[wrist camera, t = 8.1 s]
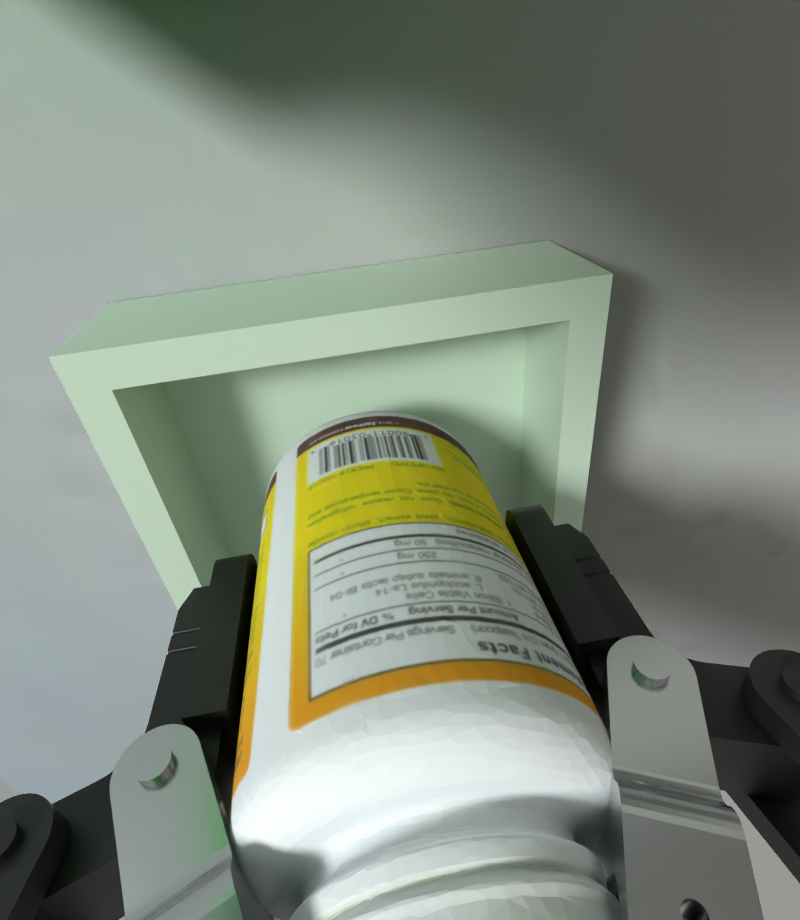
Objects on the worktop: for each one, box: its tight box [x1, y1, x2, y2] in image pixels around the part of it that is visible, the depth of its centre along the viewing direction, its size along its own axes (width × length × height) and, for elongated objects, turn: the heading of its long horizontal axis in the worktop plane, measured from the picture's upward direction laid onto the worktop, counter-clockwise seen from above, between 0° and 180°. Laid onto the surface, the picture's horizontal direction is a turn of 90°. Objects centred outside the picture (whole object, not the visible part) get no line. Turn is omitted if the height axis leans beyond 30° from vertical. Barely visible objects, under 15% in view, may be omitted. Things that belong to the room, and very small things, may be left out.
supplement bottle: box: [229, 411, 620, 920], centre depth 10 cm, size 6×6×10 cm
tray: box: [49, 240, 613, 611], centre depth 14 cm, size 11×11×3 cm
